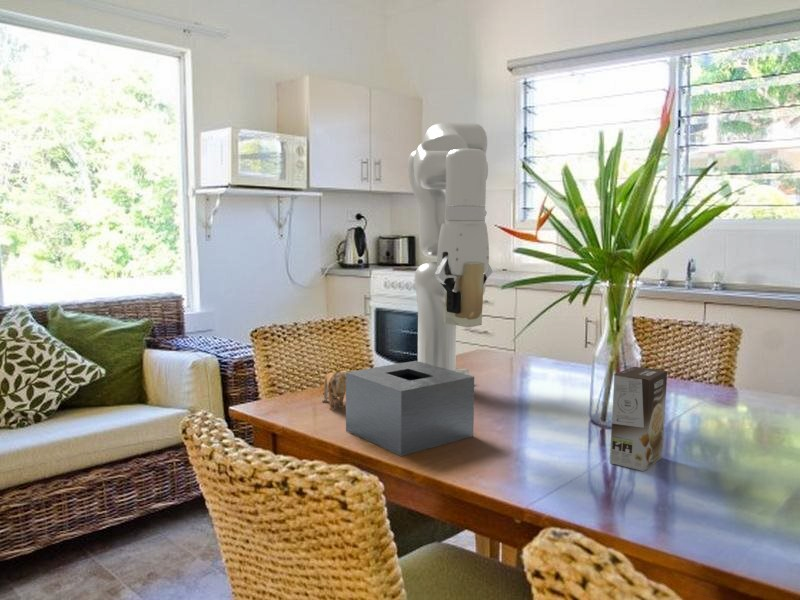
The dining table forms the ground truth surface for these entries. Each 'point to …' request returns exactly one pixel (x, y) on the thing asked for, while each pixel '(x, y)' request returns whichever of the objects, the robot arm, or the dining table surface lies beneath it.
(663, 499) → the dining table surface
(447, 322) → the skincare box
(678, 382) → the dining table surface
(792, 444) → the dining table surface
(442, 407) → the box
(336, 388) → the tan spotted animal figure
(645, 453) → the coffee box
